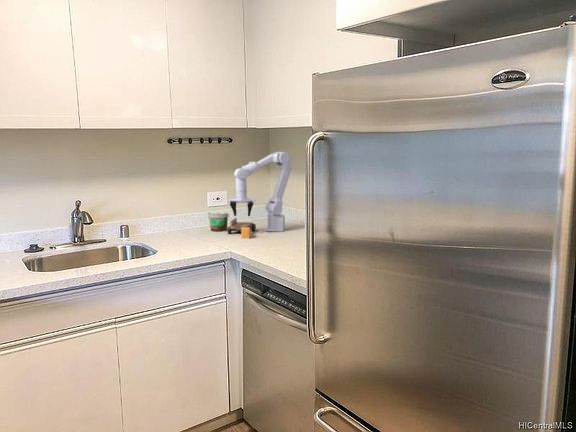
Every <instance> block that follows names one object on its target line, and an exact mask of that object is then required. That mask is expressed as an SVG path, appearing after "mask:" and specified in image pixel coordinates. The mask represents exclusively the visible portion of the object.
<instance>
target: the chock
mask: <svg viewBox="0 0 576 432" xmlns="http://www.w3.org/2000/svg"><path fill="white" fill-rule="evenodd" d="M240 230H241V231H240V233H241V234H240V235H241V239H246V238H247V239H248V238H249V239H250V238H251V237H253V235H254V233H253V231H252V232H251V230H250V228H241V229H240Z"/></svg>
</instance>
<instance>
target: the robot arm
mask: <svg viewBox="0 0 576 432" xmlns="http://www.w3.org/2000/svg"><path fill="white" fill-rule="evenodd" d="M291 159H292V157H291V156H290V154H289V152H286V151H275V152H272V153H271V154H269V155H266V156H264V157H263V158H261V159H260V160H258V161H248V164H246V165H242V166H241V168H235V171H234V172H233V176H234V178H235V196H236V197H235V198H228V199H227V202H228V204H229V206H230V208H231V210H232V213H233V216H234V217H236V216H237V203H238V204H239V203H242V204H245V203H247V204H246V205H247V217H251V212H252V208H253V206H254V204H256V199H255V198H248V191H247V190H248V189H247V178H248V177H250V176H252V175H253V174H255V173H257V172H259V170H260V168H262V167H264V166H266V165H269V164H270V163H276V164H277V165H278V167H279V168H280V172H279V174H278V178H277V182H276V184H275V189H274V191H273V194H272V196H271V197H270V199H269V201H268V203H267V204H266V205H265V210H266V212H267V229H266V230H265V231H266V232H284V231H285V230H286V220H285V219H286V218H285V217H286V216H285V214H282V212H283V203H284V202H283V197H284V194H285V191H286V190H285V189H286V186H287V184H288V181H289V179H290V178H289V177H290V175H291V171H292V163H291Z"/></svg>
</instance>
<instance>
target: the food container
mask: <svg viewBox="0 0 576 432" xmlns="http://www.w3.org/2000/svg"><path fill="white" fill-rule="evenodd" d="M207 217H208V218H209V227H210V231H211V232H216V233H218V232H226V231H228V220H229V219H228V218H229V217H230V215H229V212H226V213H211V212H208V214H207Z"/></svg>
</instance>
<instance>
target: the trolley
mask: <svg viewBox="0 0 576 432" xmlns="http://www.w3.org/2000/svg"><path fill="white" fill-rule="evenodd" d="M237 221H238V219H237V217H234V218H233V219H231V220H229V222H230V223H229V224H230V226H228V225H227V234H228V235H231V234H232V232H241V228H250V230H251V232H253V231H254V232H255V231H256V229H257V227H256V226H257V225H256V223H254V222H246V221H245V222H243V221H241V222H237Z"/></svg>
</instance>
